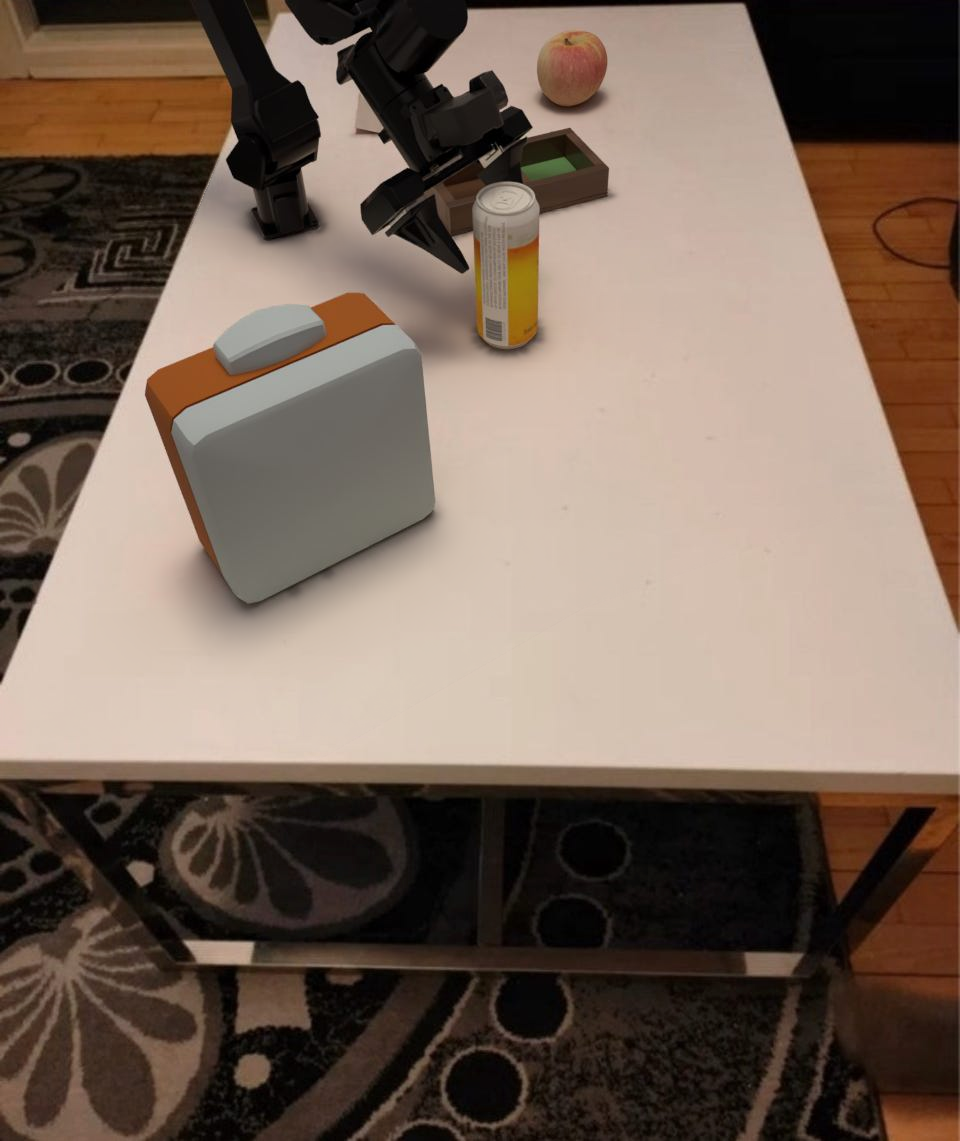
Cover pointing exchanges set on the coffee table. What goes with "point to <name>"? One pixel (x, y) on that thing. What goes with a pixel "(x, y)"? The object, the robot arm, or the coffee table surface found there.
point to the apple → (571, 67)
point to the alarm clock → (297, 439)
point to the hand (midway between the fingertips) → (498, 249)
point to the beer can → (506, 263)
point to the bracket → (366, 117)
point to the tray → (530, 179)
